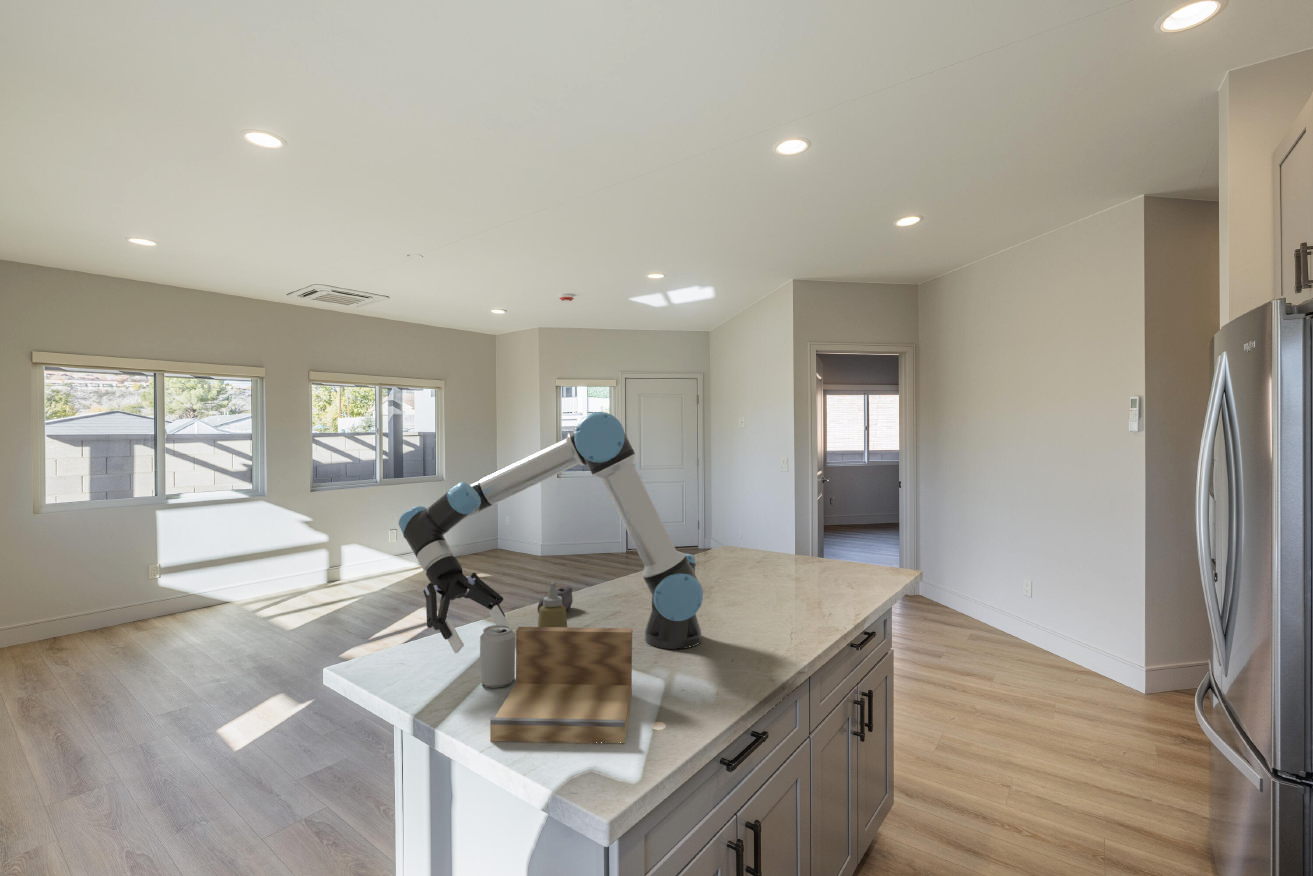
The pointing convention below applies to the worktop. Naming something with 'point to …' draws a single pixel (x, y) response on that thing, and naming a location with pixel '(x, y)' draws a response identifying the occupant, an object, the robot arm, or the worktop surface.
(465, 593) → the robot arm
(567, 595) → the perforated stone tool
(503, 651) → the can
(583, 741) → the wooden l-shaped piece
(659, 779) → the worktop surface
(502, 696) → the worktop surface
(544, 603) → the squeeze bottle
